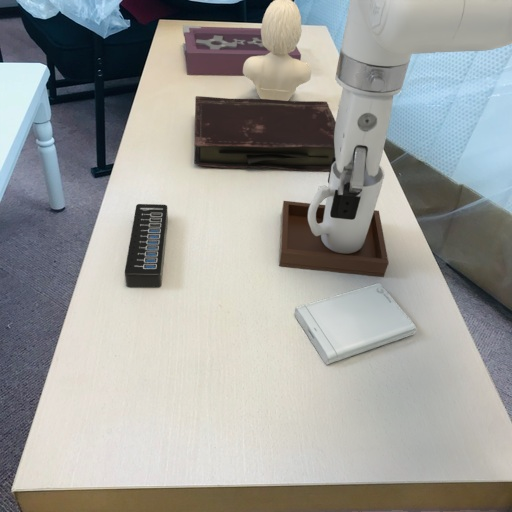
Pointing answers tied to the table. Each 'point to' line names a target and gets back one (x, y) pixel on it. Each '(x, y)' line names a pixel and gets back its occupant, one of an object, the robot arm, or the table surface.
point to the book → (222, 49)
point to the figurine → (278, 54)
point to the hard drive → (353, 322)
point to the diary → (264, 134)
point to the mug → (344, 230)
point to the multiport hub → (147, 246)
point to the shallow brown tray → (318, 255)
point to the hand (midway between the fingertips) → (340, 199)
